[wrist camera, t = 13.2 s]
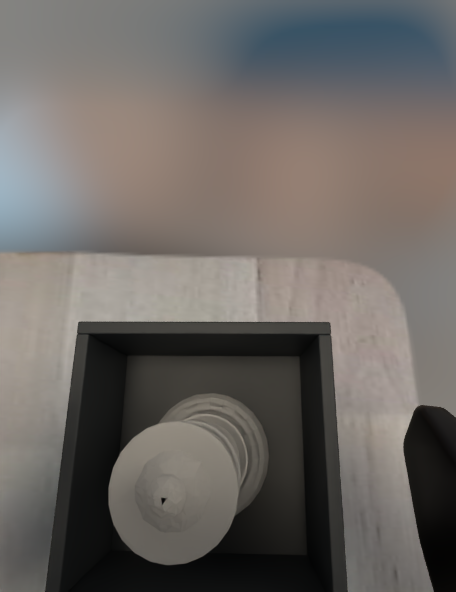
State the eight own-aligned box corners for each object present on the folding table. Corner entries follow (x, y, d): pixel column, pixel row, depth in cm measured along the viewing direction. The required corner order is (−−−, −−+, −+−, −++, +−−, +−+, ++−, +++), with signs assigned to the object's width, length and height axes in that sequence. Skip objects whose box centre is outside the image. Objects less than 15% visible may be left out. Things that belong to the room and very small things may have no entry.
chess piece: (268, 396, 16) (303, 362, 7) (267, 517, 15) (308, 685, 6) (160, 392, 17) (48, 353, 7) (150, 511, 15) (-5, 663, 6)
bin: (316, 563, 15) (350, 629, 10) (104, 557, 15) (41, 619, 11) (306, 349, 17) (330, 321, 13) (122, 348, 18) (78, 321, 13)
